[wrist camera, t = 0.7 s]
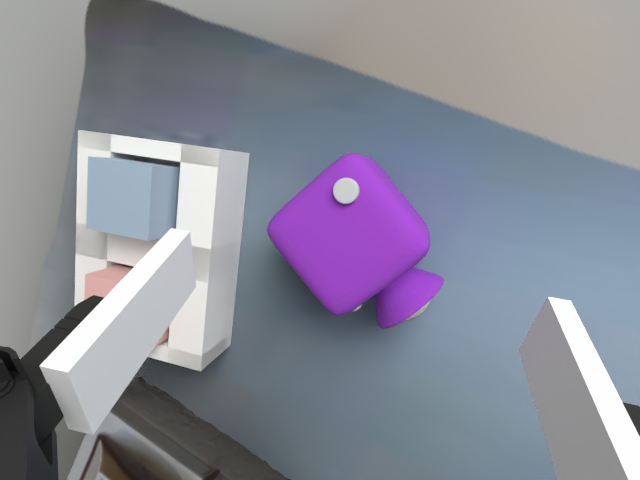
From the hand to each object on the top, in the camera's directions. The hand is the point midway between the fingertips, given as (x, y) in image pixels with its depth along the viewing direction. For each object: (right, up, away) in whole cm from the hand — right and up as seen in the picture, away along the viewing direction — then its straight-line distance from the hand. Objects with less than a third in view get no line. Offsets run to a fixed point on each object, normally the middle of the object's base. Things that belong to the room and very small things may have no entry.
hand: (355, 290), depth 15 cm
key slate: (-17, +6, +21) cm, 27 cm away
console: (-16, +2, +27) cm, 31 cm away
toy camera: (+4, +2, +22) cm, 22 cm away
